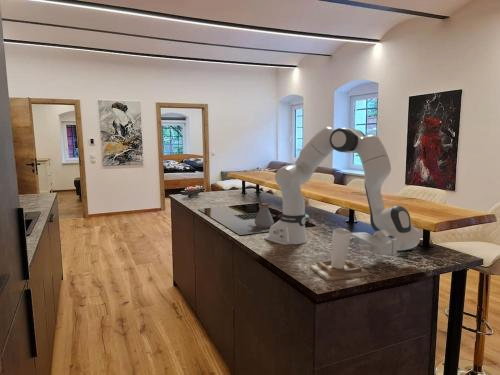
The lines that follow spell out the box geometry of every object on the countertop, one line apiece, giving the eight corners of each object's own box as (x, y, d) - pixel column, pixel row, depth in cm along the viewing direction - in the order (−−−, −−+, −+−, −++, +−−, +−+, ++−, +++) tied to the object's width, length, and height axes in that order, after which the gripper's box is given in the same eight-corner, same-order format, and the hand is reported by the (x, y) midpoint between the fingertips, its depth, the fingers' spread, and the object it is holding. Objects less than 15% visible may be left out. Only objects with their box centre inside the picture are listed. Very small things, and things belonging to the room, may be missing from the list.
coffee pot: (275, 228, 211) (275, 203, 209) (256, 229, 209) (256, 203, 207) (268, 220, 232) (268, 197, 229) (250, 221, 230) (250, 197, 228)
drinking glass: (327, 268, 142) (331, 232, 139) (330, 261, 148) (334, 226, 145) (344, 272, 140) (349, 235, 136) (347, 265, 146) (352, 230, 142)
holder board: (310, 268, 147) (310, 261, 147) (349, 263, 152) (349, 256, 152) (327, 280, 134) (327, 273, 134) (369, 275, 139) (369, 268, 139)
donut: (288, 219, 235) (288, 213, 234) (306, 218, 236) (307, 212, 235) (292, 223, 223) (292, 217, 222) (311, 223, 224) (311, 216, 223)
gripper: (367, 227, 156) (339, 230, 153) (399, 240, 137) (367, 243, 133) (367, 241, 157) (338, 245, 153) (399, 256, 138) (367, 260, 134)
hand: (352, 244), depth 143 cm, fingers open, 8 cm apart
